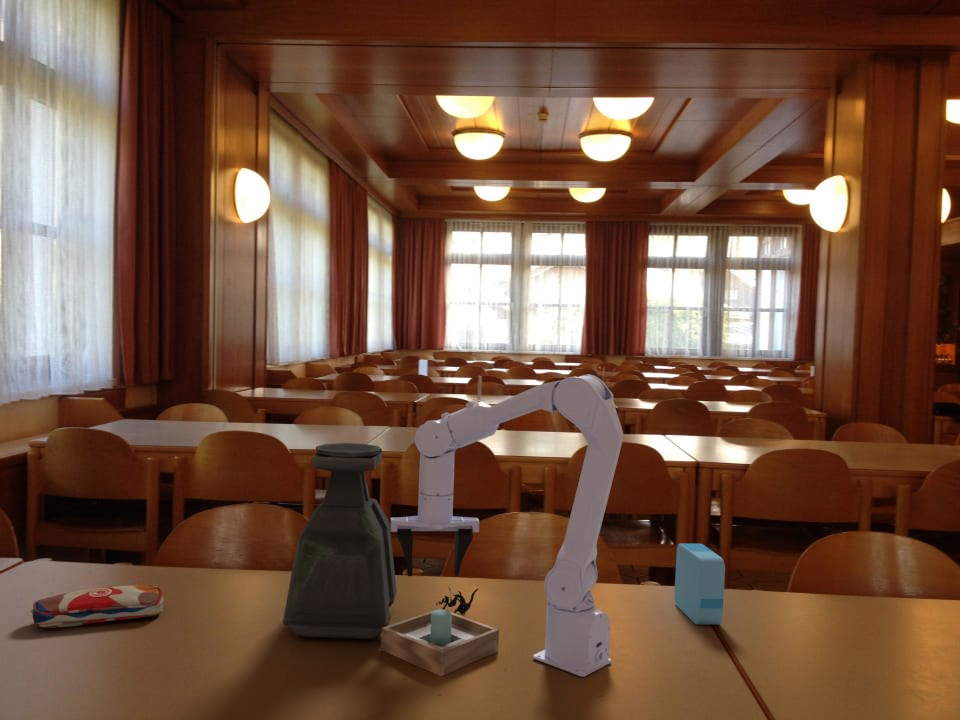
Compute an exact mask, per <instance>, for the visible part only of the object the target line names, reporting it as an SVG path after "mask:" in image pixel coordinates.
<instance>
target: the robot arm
mask: <svg viewBox="0 0 960 720" xmlns="http://www.w3.org/2000/svg"><path fill="white" fill-rule="evenodd" d="M615 406H616V405H615V401H614V394H613V393H612V391H611V390H610V389H609V387H608V386H607V385H606V384H605V383H604V382H603V381H602V379H600V378H599V377H598V376H596V375H593V374H582V375H580V376H569V377H566V378H564V379H562V380H561V379H560V380H557V381H551V382H547V383H546V382H545V383H542V384H539V385H536V386H534V387H532V388H530V389H528V390H525V391H523V392H521V393H518V394H516V395H513V396H511V397H509V398H506V399H504V400H502V401H499V402H497V403H496V404H494V405H491V404H488V403H486V402H484V401H479V402H476V400H471V401H469V402H467V403H465V407H463V408H462V409H459V410H457V411H455V412H452V413H449V412H444V413H442V414H441V415H440V416H441V418H440V419H436V420H426V421H425V422H424V423H423V424H421V425H420V426H419V427H418V428H417V430H416V432H415V435H414V443H415V444H414V445H415V447H416V449H417V450H418V451H419V453H420V454H419V455H420V456H419V473H418V477H419V478H418V501H417V503H418V504H417V505H418V508H417V515H413V516H412V515H411V516H403V517H402V516H401V517H390V521H389V525H390V533H396V535H397V539H398V542H399V544H400V547H401V549H402V551H403V552H402V553H403V556H404V558H405V563H406V571H407V572H406V573H407V577H413V547H414V545H413V544H414V538H413V535H414V534H413V532H454V556H453V566H452V568H453V569H452V570H453V576H455V577H459V576H460V571H461V565H462V563H463V561H464V559H465V558H464V557H465V555H466V552H467V550H468V548H469V547H470V545H471V543H472V541H473V540H474V539H473V538H474V535H473V533H479V532H480V520H479V518H478V517H468V516H467V517H466V516H464V517H463V516H454V514H453V511H454V510H453V509H454V508H453V507H454V485H455V484H454V483H455V456H456V455H455V453H456V450H458V449H460V448H464V447H466V446H468V445H471V444H474V443H476V442H479V441H481V440H484V439H487V438H489V437H492V436H494V435H495V434H496V432H497V430H498V427H499V425H500V424H502V423H505V422H507V421H511V420H513V419H516V418H518V417H519V418H520V417H521V416H524V415H527V414H530V413H532V412H535V411H538V410H543V411H546V412H550V413H554V412H559V413H560V414H561V416H563V417H564V418H565V419H567V420H568V421H570V422H571V423H572V424H574V426H576V427H577V428H578V429H579V431H580V433H581V434H582V436H583V437H584V438H585V440H586V441H587V447H586V452H585V455H584V460H583V463H582V468H581V472H580V476H579V480H578V484H577V488H576V491H575V495H574V500H573V504H572V507H571V508H572V509H571V512H570V517H569V520H568V524H567V527H566V531H565V536H564V541H563V542H562V545H561V546H560V547H561V548H560V549H559V551H558V554H557V555H556V558H555V563H554V566H553V567H552V569H551V570H550V571H549V572H548V573H547V574H546V576H545V578H544V581H543V590H544V594H545V596H546V599H547V600H546V618H545V619H546V623H545V642H544V649H543V650H540V651H539V652H537V653H534V654H533V655H532V658H533V659H534V660H537V661H539V662H542V663H545V664H547V665H550V666H552V667H555V668H558V669H560V670H563V671H566V672H568V673H571V674H573V675H576V676H578V677H583V678H585V677H587V676H588V675H590V674H591V673H593V672H596V671H598V670H599V669H601V668H603V667H605V666H607V665H609V664H610V663H612V659H611V658H610V639H611V638H610V635H611V623H610V622H611V621H610V618H609V616H608V614H607V613H605V612H603V611H601V610H600V609H598V607H596V606H595V599H594V596H593V594H592V592H591V589H592V588H594V586H595V585H596V584H597V580H598V576H599V575H598V568H597V563H596V562H597V561H596V560H597V555H598V549H597V543H598V539H599V536H600V532H601V528H602V523H603V521H604V516H605V511H606V508H607V505H608V501H609V496H610V492H611V488H612V484H613V480H614V476H615V473H616V469H617V465H618V460H619V456H620V452H621V450H622V449H621V448H622V446H623V445H622V444H623V440H624V431H623V429H622V425H621V421H620V419H619V415H618V412H617V408H616V407H615Z"/></svg>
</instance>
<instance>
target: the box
mask: <svg viewBox="0 0 960 720" xmlns="http://www.w3.org/2000/svg"><path fill="white" fill-rule="evenodd" d="M435 610H444V609H442V608H441V607H440V608H436V609H434V610H430V611H428V612H424V613H421V614H419V615H415V616H413V617H410V618H407V619H405V620H404V619H403V620H401V621H399V622H395V623H392V624H390V625H387V626H386V627H383V628H382V632H381V639H380V641H381V644H380V650H381V651H382V652H385V653H387V654H390V655H391V656H394V657H396V658H398V659H400V660H402V661H405V662H407V663H410V664H412V665H415V666H416V667H419V668H421V669H423V670H425V671H428V672H430V673H431V674H434V675H437V676H439V677H443V676H445V675H447V674H450V673H452V672H454V671H456V670H459V669H461V668H463V667H466V666H468V665H470V664H473V663H475V662H477V661H480V660H481V659H482V660H483V659H484V658H486V657H488V656H489V657H490V655H493V654H495V653H498V652H499V640H500V629H499V628H496V627H492V626H491V625H488V624H484V623H482V622H479V621H477V620H473V619H471V618H468V617H466V616H463V615H461V614H457V613H454V612H451V611H450V612H451V613H452V619H451V643H449V644H447V645H444V646H442V647H440V646H437V645H435V644H433V643H430V635H431V613H432V612H433V611H435Z"/></svg>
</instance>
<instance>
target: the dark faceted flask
mask: <svg viewBox="0 0 960 720" xmlns="http://www.w3.org/2000/svg"><path fill="white" fill-rule="evenodd" d="M315 451H316V452H315V454H313V455H312V456H311V468H314V469H316V470H317V469H318V470H322V471H327V472H330V475H329V480H328V484H327V487H326V491H325V495H324V498H323V500H322V501H321V503H320V504H318V505H317V506H316V508H315V509H314V510H313V512H312V514H311V516H310V518H308V520H307V523H306V524H305V526H304V527H303V529H302V530H301V533H300V534H299V536H298V538H297V543H296V546H295V547H296V548H295V554H294V558H293V563H292V568H291V569H292V570H291V575H290V580H289V585H288V592H287V596H286V602H285V609H284V613H283V619H282V625H284V627H285V626H286V628H288V629H289V630H290V631H291V632H292V633H294V634H295V635H296V636H298V637H300V638H301V637H302V638H322V639H323V638H324V639H326V638H328V639H350V640H351V639H353V640H375V639H376V638H377V637H378V635H380V634H382V628H383V627H386V626H388V622H389V619H390V617H391V616H390V615H391V614H390V613H391V612H390V608H391V607H392V605H393V604H394V602H395V598H396V596H397V592H398V591H397V582H396V581H397V580H396V574H395V563H394V554H393V552H394V551H393V545H392V536H391V535H392V534H391V531H390V520H389V519H388V518H387V515H386V514H385V512H384V510H383V508H382V507H381V506H380V504H379V502H378V500H377V499H375V498H372V497H371V498H370V493H369V487H368V484H367V483H368V482H367V478H366V472H370V471H374V470H375V469H376V468H377V467H378V465H379V464H380V462H381V461H382V459H383V457H382V454H383V453H382V452H383V449H382V448H381V447H380V446H379V445H375V444H368V443H354V442H351V443H349V442H339V443H338V442H337V443H324V444H322V445H321V444H320V445H317V446H315Z"/></svg>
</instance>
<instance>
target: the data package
mask: <svg viewBox="0 0 960 720" xmlns="http://www.w3.org/2000/svg"><path fill="white" fill-rule="evenodd" d="M675 559H676V561H675V562H676V563H675V576H674V578H675V579H674V603H675V605H676V607H677V608H678V609H679V610H680V611H681V612H682V613H683V614H685V616H687V617H688V618H689V619H690V620H691V621H692V623H693V624H695V625H721V624H722V622H723V617H724V616H723V614H724V599H725V598H724V596H725V594H724V593H725V592H724V591H725V575H726V574H725V573H726V564H725V562H724V559H723V558H722V557H721V556H720V555H719V554H717V553H716V552H714V551H713V550H712V549H710V548H709V547H707V546H706V545H704V544H703V543H678V544H677V547H676V558H675Z"/></svg>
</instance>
